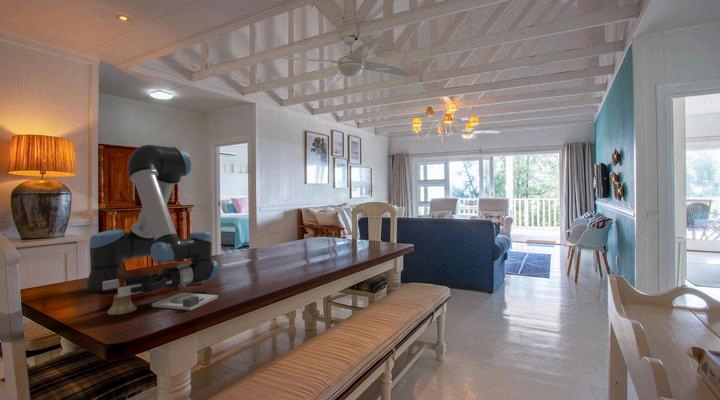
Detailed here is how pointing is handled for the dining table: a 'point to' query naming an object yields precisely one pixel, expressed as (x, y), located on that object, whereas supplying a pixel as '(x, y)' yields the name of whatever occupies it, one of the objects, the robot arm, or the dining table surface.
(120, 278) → the hand bell
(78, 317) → the dining table surface
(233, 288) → the dining table surface
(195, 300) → the charging dock
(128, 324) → the dining table surface
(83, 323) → the dining table surface
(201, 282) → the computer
